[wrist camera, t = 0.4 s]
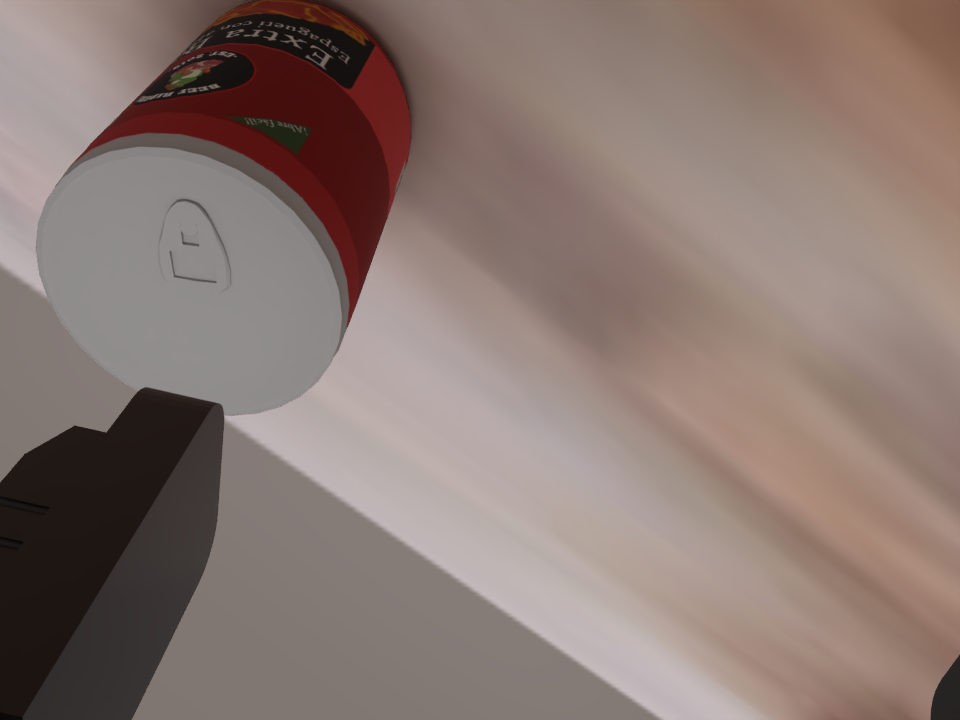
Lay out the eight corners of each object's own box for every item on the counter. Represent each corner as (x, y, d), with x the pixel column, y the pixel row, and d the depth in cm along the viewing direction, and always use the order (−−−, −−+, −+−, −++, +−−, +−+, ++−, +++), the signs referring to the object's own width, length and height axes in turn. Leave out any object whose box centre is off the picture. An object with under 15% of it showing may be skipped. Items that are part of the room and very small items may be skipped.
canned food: (385, -29, 28) (287, 125, 19) (438, 204, 32) (379, 411, 24) (154, 7, 29) (-33, 166, 20) (237, 225, 34) (114, 427, 25)
